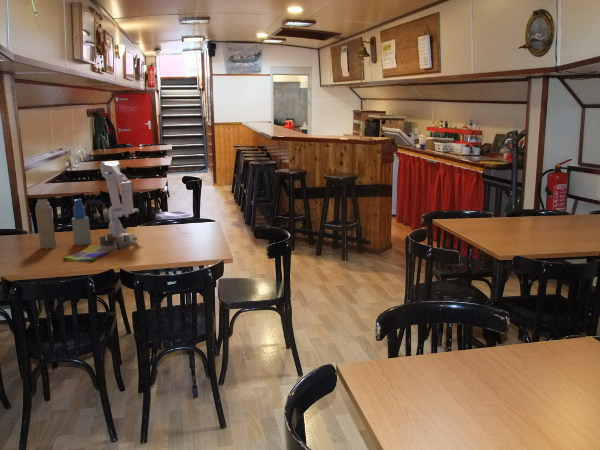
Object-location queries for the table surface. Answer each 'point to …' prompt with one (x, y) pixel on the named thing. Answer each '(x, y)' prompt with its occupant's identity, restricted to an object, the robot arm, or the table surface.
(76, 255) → the dish towel
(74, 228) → the spray bottle
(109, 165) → the robot arm
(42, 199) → the thermos bottle
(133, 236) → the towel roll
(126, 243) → the roll holder
